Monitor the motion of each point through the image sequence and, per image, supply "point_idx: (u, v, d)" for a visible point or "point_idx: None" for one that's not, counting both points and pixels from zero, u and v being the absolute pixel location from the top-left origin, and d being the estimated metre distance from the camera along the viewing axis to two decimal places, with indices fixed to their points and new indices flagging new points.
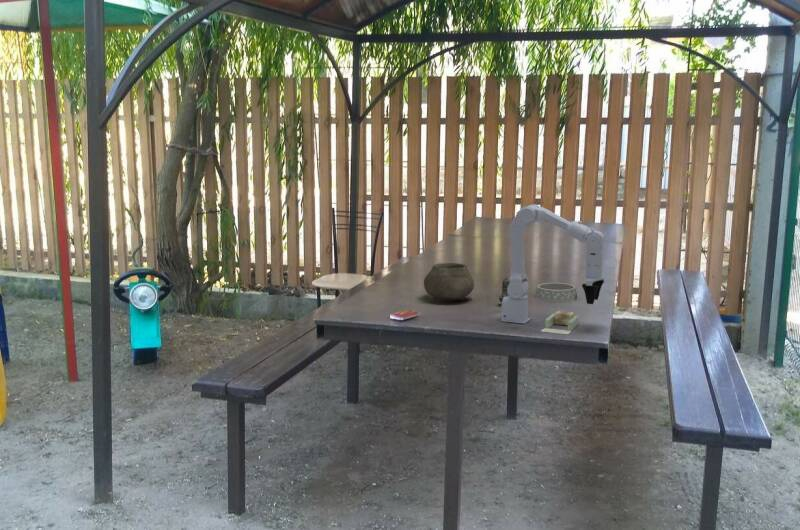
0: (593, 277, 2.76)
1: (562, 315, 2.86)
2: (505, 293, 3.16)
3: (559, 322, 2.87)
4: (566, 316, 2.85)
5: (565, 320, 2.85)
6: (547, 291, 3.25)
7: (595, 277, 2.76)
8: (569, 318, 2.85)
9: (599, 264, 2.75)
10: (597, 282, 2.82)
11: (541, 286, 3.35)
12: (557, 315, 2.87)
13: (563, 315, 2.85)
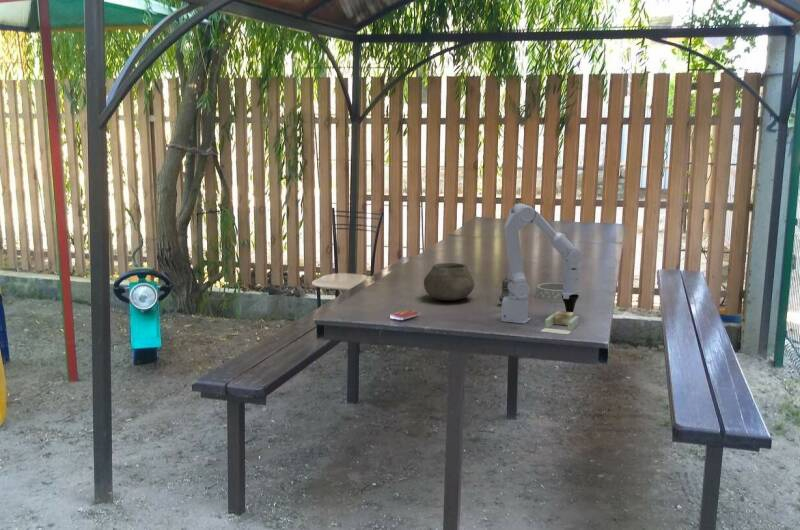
0: (570, 291, 2.91)
1: (562, 315, 2.86)
2: (505, 293, 3.16)
3: (559, 322, 2.87)
4: (566, 316, 2.85)
5: (565, 320, 2.85)
6: (547, 291, 3.25)
7: (572, 291, 2.91)
8: (569, 318, 2.85)
9: (578, 278, 2.92)
10: None
11: (541, 286, 3.35)
12: (557, 315, 2.87)
13: (563, 315, 2.85)
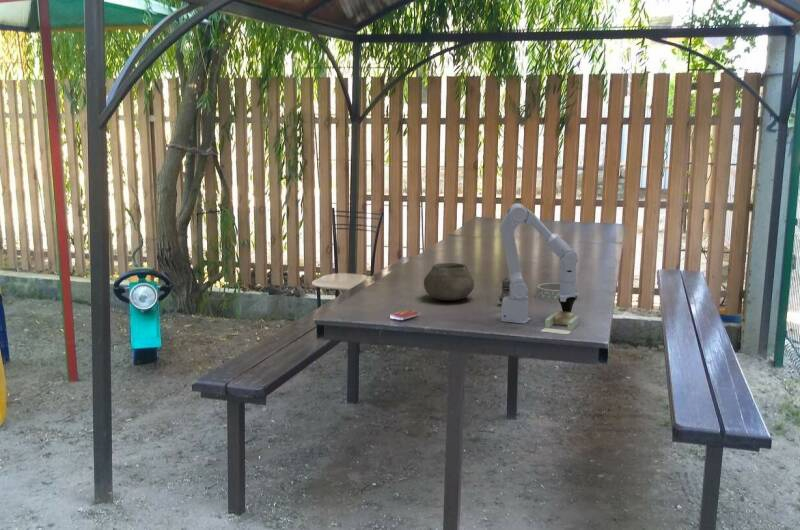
0: (567, 293, 2.87)
1: (562, 315, 2.86)
2: (505, 293, 3.16)
3: (559, 322, 2.87)
4: (566, 316, 2.85)
5: (565, 320, 2.85)
6: (547, 291, 3.25)
7: (569, 293, 2.87)
8: (569, 318, 2.85)
9: (574, 280, 2.87)
10: None
11: (541, 286, 3.35)
12: (557, 315, 2.87)
13: (563, 315, 2.85)
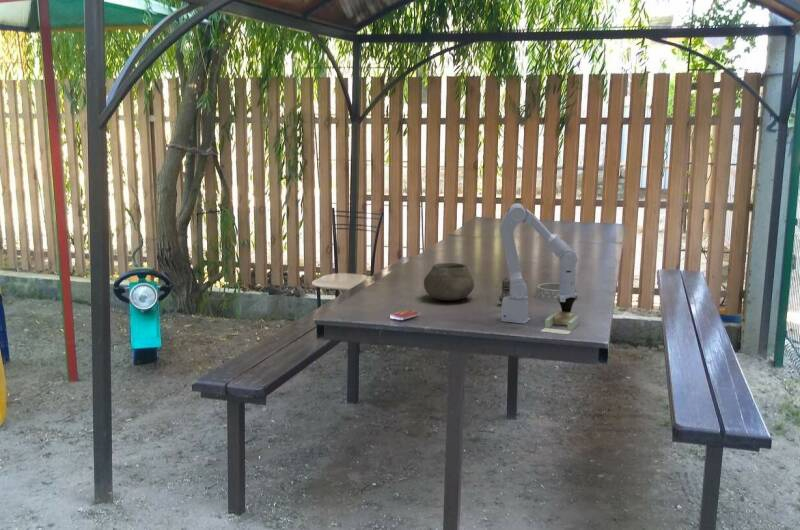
0: (566, 294, 2.86)
1: (562, 315, 2.85)
2: (505, 293, 3.16)
3: (559, 322, 2.86)
4: (566, 316, 2.85)
5: (565, 320, 2.85)
6: (547, 291, 3.25)
7: (568, 294, 2.86)
8: (569, 318, 2.84)
9: (574, 281, 2.86)
10: None
11: (541, 286, 3.35)
12: (557, 315, 2.86)
13: (563, 315, 2.85)
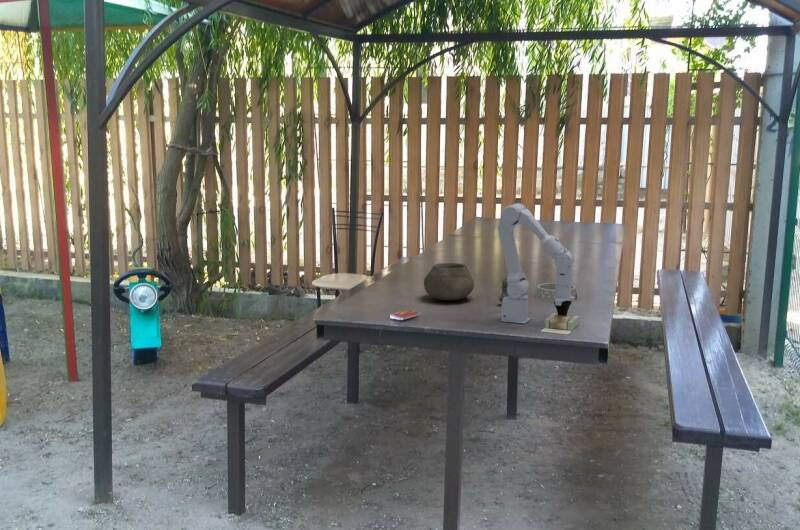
0: (562, 297, 2.81)
1: (558, 319, 2.80)
2: (505, 293, 3.16)
3: (555, 326, 2.81)
4: (562, 320, 2.80)
5: (561, 324, 2.80)
6: (547, 291, 3.25)
7: (564, 297, 2.81)
8: (565, 322, 2.79)
9: (568, 284, 2.81)
10: None
11: (541, 286, 3.35)
12: (553, 319, 2.81)
13: (559, 319, 2.80)
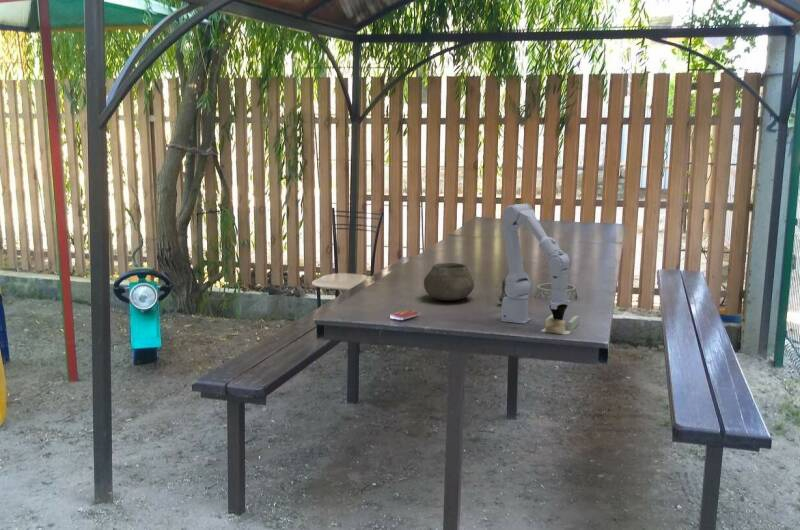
0: (558, 300, 2.76)
1: (553, 323, 2.75)
2: (505, 293, 3.16)
3: (550, 330, 2.76)
4: (557, 324, 2.74)
5: (556, 328, 2.74)
6: (547, 291, 3.24)
7: (560, 300, 2.75)
8: (560, 326, 2.74)
9: (561, 288, 2.75)
10: (560, 307, 2.79)
11: (541, 286, 3.35)
12: (548, 323, 2.75)
13: (554, 323, 2.74)
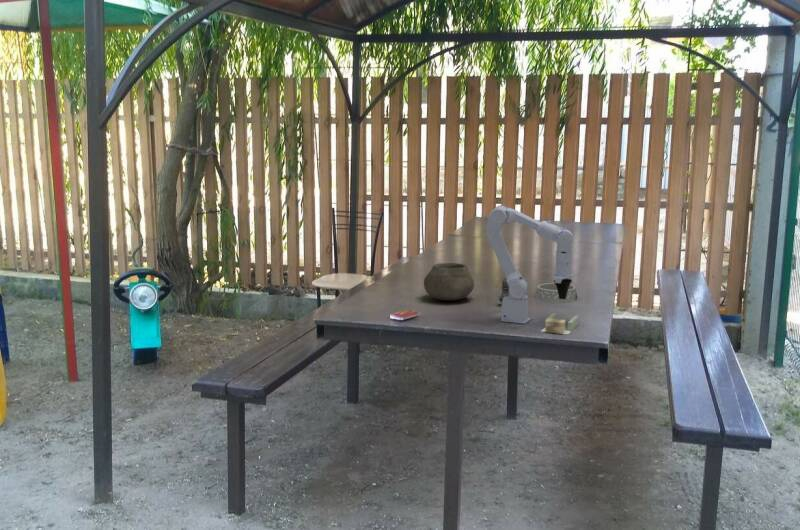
0: (562, 275, 2.83)
1: (553, 323, 2.75)
2: (505, 293, 3.16)
3: (550, 330, 2.76)
4: (557, 324, 2.74)
5: (556, 328, 2.74)
6: (547, 291, 3.24)
7: (564, 275, 2.83)
8: (560, 326, 2.74)
9: (569, 262, 2.83)
10: None
11: (541, 286, 3.35)
12: (548, 323, 2.75)
13: (554, 323, 2.74)
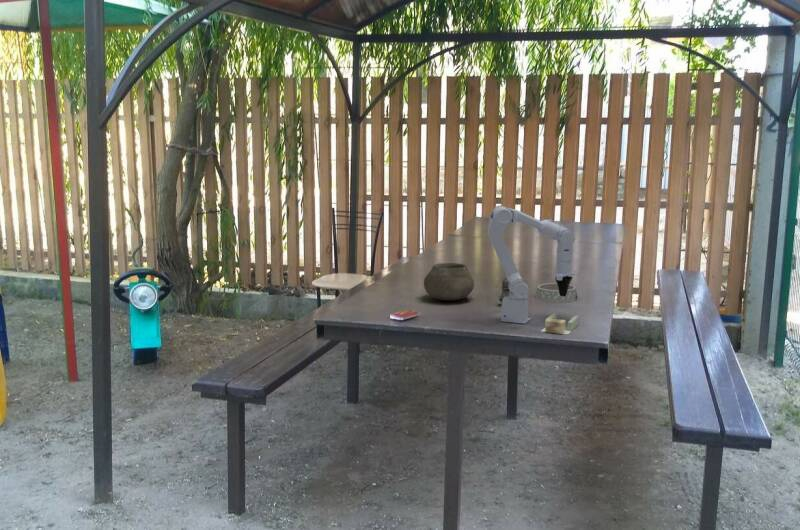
0: (563, 272, 2.88)
1: (553, 323, 2.75)
2: (505, 293, 3.16)
3: (550, 330, 2.76)
4: (557, 324, 2.74)
5: (556, 328, 2.74)
6: (547, 291, 3.24)
7: (565, 272, 2.88)
8: (560, 326, 2.74)
9: (571, 259, 2.88)
10: None
11: (541, 286, 3.35)
12: (548, 323, 2.75)
13: (554, 323, 2.74)
